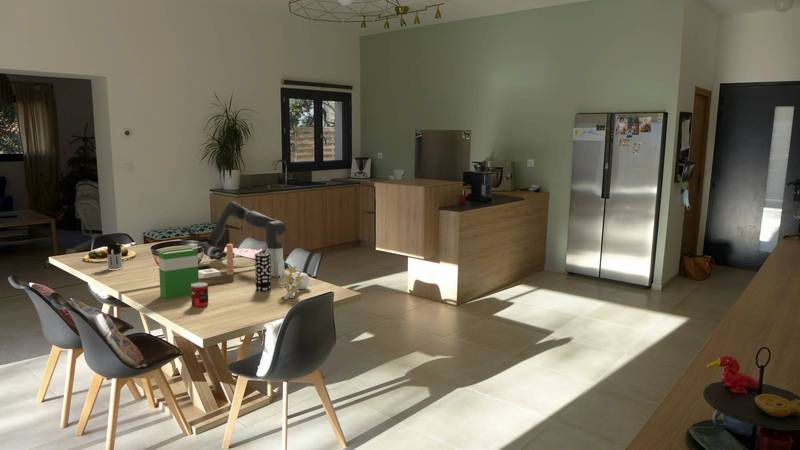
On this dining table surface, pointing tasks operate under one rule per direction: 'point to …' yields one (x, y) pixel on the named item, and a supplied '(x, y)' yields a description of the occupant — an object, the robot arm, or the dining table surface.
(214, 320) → the dining table surface
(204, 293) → the canned food
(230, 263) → the terracotta dowel
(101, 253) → the wooden plate with food
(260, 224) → the robot arm
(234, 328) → the dining table surface
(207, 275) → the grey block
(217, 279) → the walnut track
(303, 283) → the flower vase
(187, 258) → the green box
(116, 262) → the black capped bottle
